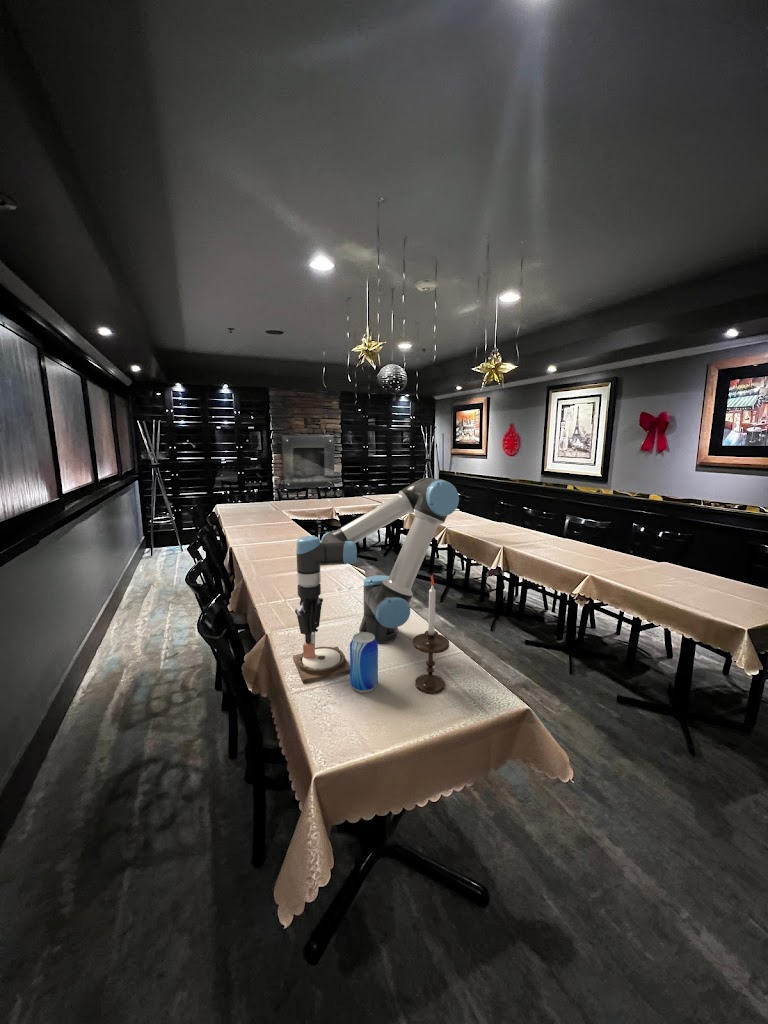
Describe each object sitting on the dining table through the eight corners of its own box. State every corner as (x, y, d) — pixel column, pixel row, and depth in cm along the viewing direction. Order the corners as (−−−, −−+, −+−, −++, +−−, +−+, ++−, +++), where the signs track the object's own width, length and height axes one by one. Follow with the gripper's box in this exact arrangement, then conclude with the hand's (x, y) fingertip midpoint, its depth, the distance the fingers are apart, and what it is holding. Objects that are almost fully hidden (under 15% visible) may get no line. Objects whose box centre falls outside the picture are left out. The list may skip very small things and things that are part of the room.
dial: (344, 652, 140) (343, 637, 139) (335, 672, 127) (335, 656, 126) (308, 650, 141) (308, 635, 140) (297, 670, 129) (296, 653, 128)
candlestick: (411, 674, 129) (413, 569, 123) (445, 675, 129) (448, 570, 123) (413, 695, 118) (415, 581, 113) (450, 696, 118) (453, 581, 112)
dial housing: (337, 649, 145) (337, 642, 144) (352, 672, 130) (352, 664, 130) (292, 658, 138) (292, 650, 138) (302, 683, 124) (302, 674, 123)
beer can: (367, 697, 117) (367, 646, 114) (344, 688, 121) (344, 639, 119) (383, 683, 124) (383, 635, 122) (360, 675, 128) (360, 628, 126)
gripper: (311, 576, 140) (312, 639, 144) (287, 588, 128) (289, 656, 132) (329, 579, 137) (330, 644, 140) (306, 591, 125) (308, 662, 129)
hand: (310, 650), depth 136 cm, fingers closed
